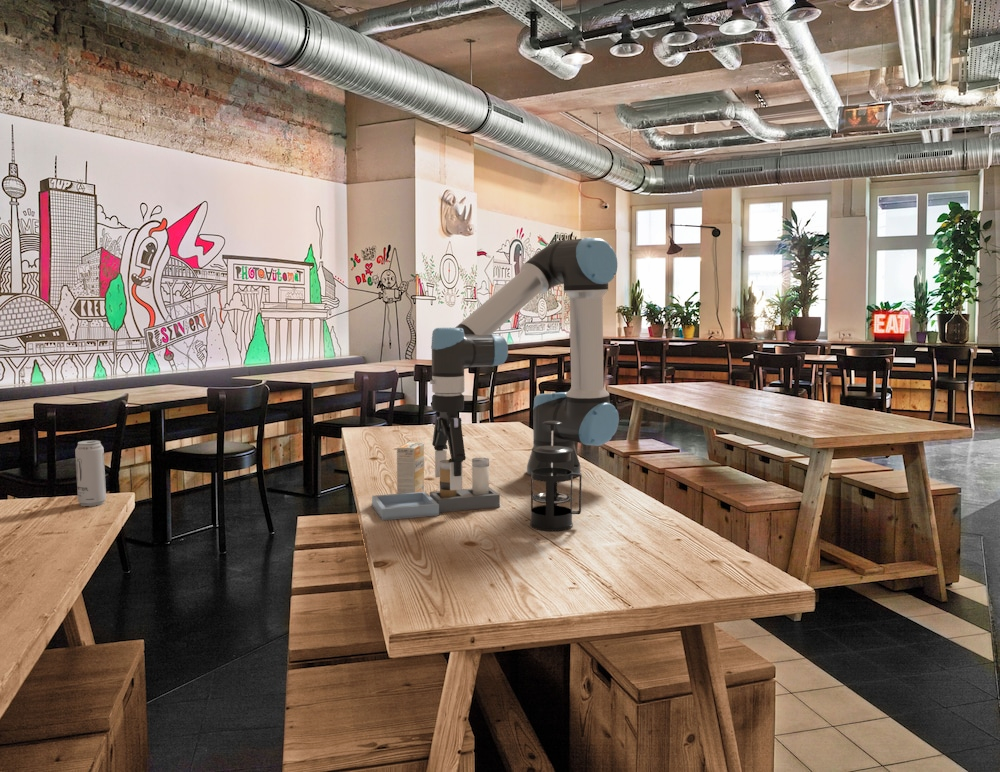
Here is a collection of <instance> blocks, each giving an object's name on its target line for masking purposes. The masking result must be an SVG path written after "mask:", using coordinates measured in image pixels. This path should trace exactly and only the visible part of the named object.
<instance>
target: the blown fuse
mask: <svg viewBox="0 0 1000 772" xmlns="http://www.w3.org/2000/svg"><path fill="white" fill-rule="evenodd" d="M439 491H440V498H445V497H457V490H450V463H449V459H447V460H441V461H440V477H439Z"/></svg>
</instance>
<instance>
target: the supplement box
mask: <svg viewBox="0 0 1000 772" xmlns="http://www.w3.org/2000/svg"><path fill="white" fill-rule="evenodd" d="M414 492H425V443H424V442H406V443H404V444H402V445H400V446H399V447H398V446H397V447H396V494H401V493H414Z"/></svg>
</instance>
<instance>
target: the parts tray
mask: <svg viewBox="0 0 1000 772" xmlns="http://www.w3.org/2000/svg"><path fill="white" fill-rule="evenodd" d="M371 506H372V508H373V510H375V512H376V513H377V515H378V517H380V519H381V520H382V521H391V520H400V519H413V518H414V519H415V518H425V517H436V516H439V515H440V512H439V504H438V503H437V502H436V501H435V500H434V499H433V498H431V497H430V494H428V493H427V491H424V492H414V493H401V494H397V493H392V494H389V493H388V494H376V495H371Z"/></svg>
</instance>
